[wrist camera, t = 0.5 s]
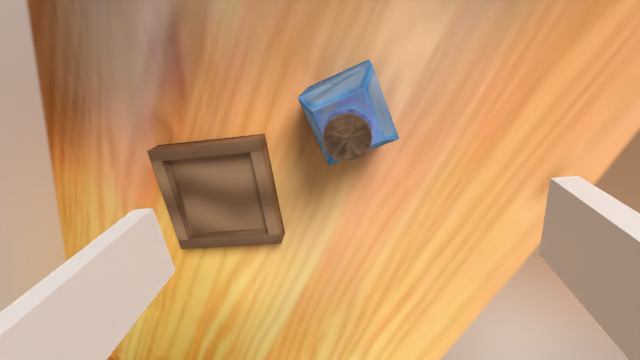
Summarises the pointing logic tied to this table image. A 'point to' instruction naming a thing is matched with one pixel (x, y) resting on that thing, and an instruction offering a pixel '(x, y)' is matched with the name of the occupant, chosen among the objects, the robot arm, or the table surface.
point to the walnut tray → (219, 191)
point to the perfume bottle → (348, 114)
